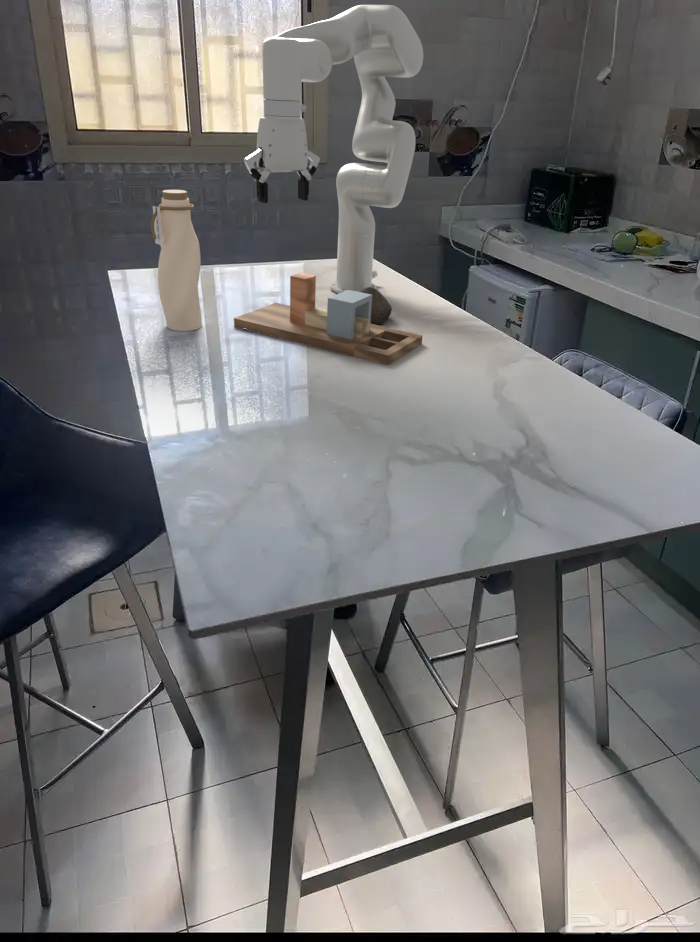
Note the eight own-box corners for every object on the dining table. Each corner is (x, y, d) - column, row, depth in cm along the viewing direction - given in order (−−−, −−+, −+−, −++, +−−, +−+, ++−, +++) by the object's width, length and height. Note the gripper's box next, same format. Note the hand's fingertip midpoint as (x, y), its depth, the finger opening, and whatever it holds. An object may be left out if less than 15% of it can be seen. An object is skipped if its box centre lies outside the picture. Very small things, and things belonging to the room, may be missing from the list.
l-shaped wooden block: (300, 317, 156) (300, 272, 151) (369, 332, 148) (372, 286, 143) (289, 321, 153) (290, 276, 148) (360, 337, 145) (362, 290, 140)
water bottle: (177, 336, 146) (166, 196, 132) (150, 326, 151) (137, 190, 137) (213, 326, 153) (206, 192, 140) (186, 317, 158) (177, 187, 144)
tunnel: (346, 324, 153) (348, 289, 149) (369, 329, 150) (372, 294, 146) (326, 333, 146) (327, 297, 143) (350, 339, 144) (352, 303, 140)
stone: (393, 335, 166) (388, 299, 169) (394, 318, 158) (389, 280, 161) (353, 340, 166) (348, 303, 169) (352, 323, 158) (347, 285, 161)
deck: (275, 310, 166) (275, 302, 165) (421, 344, 150) (422, 335, 149) (234, 326, 154) (233, 318, 153) (388, 365, 137) (388, 355, 136)
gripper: (309, 109, 144) (309, 196, 153) (234, 108, 136) (238, 200, 144) (328, 112, 139) (327, 201, 148) (252, 111, 130) (254, 206, 139)
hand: (283, 200), depth 146 cm, fingers open, 9 cm apart
